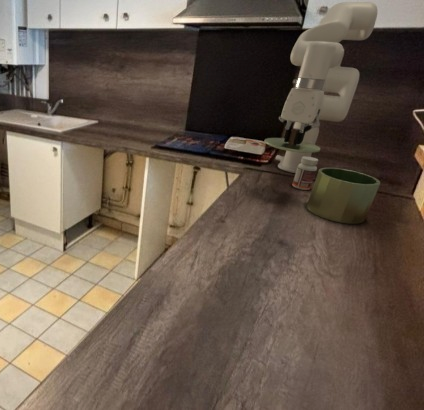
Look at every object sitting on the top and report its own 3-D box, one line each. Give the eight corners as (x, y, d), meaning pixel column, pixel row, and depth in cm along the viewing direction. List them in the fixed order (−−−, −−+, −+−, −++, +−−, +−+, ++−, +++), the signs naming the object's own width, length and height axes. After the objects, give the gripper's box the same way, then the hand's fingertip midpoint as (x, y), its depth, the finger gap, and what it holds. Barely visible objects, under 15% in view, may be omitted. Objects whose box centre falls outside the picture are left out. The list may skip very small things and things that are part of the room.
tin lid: (253, 143, 121) (258, 125, 119) (281, 139, 130) (285, 122, 127) (302, 156, 109) (308, 136, 106) (329, 151, 117) (335, 132, 115)
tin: (297, 207, 116) (309, 171, 111) (321, 199, 124) (333, 165, 119) (349, 228, 104) (366, 188, 99) (372, 217, 112) (389, 180, 107)
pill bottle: (313, 188, 134) (323, 159, 129) (305, 191, 130) (314, 161, 126) (296, 183, 138) (306, 155, 134) (288, 185, 135) (297, 157, 130)
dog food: (262, 160, 166) (265, 150, 164) (221, 153, 173) (223, 143, 171) (265, 146, 191) (267, 137, 189) (229, 141, 198) (231, 132, 196)
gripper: (278, 81, 115) (263, 138, 123) (331, 88, 103) (311, 150, 111) (291, 82, 119) (275, 136, 127) (343, 88, 107) (323, 148, 114)
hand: (292, 142), depth 119 cm, fingers closed on tin lid, 2 cm apart
